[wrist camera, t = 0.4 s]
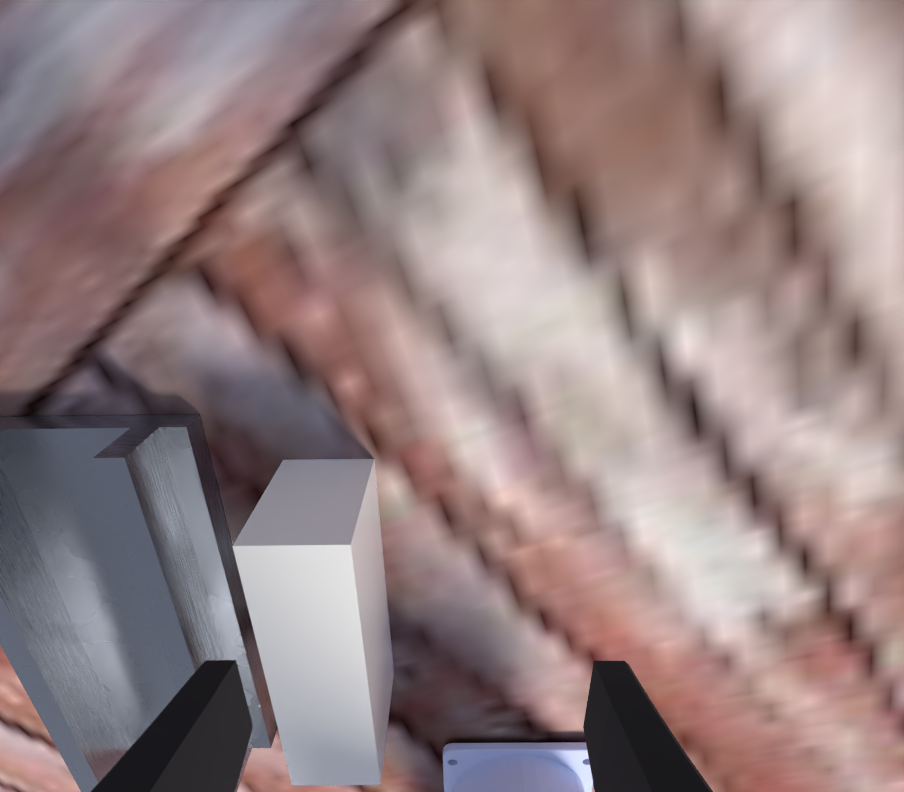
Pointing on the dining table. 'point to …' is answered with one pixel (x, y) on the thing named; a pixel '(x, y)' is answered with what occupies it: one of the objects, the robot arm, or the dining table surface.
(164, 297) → the dining table surface
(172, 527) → the grey u-channel tray
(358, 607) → the grey metal bar
